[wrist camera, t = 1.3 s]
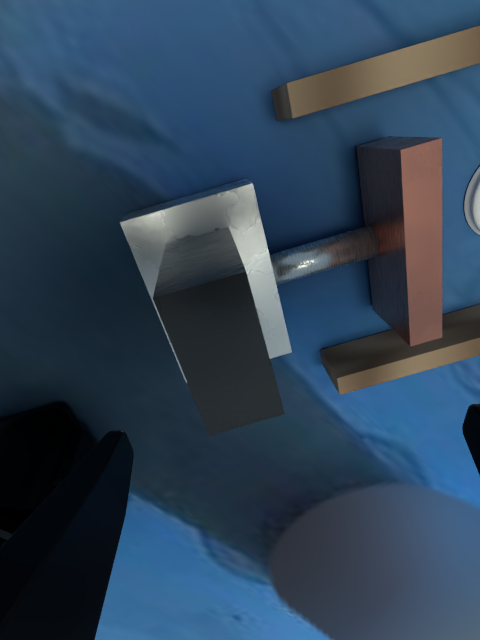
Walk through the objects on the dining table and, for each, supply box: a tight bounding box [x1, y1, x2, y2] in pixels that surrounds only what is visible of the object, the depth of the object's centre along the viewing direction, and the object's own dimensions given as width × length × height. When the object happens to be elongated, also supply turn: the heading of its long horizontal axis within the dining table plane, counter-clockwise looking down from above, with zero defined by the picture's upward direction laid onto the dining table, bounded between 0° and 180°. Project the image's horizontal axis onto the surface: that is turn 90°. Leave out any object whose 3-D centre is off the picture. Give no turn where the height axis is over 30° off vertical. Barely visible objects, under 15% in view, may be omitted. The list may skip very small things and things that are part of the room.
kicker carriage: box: [120, 136, 442, 435], centre depth 16 cm, size 13×9×8 cm
